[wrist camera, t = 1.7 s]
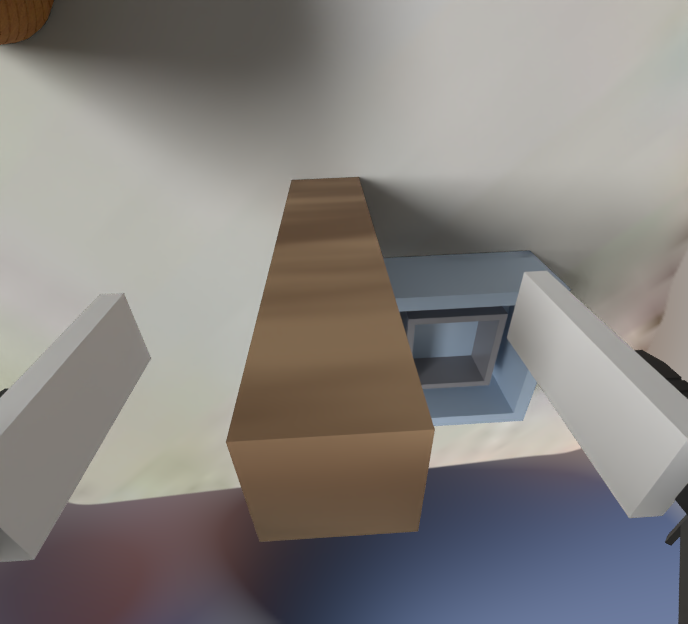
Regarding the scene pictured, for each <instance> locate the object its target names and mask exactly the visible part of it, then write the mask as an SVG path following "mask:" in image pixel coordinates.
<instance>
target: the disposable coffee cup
mask: <svg viewBox="0 0 688 624" xmlns="http://www.w3.org/2000/svg"><path fill="white" fill-rule="evenodd" d="M53 2H54V0H0V45H1V44H9V43H16V42H19V41H22V40H25V39H28V38H30V37H31V36H32V35H33V34H35V33H36V32H37V31H38V30H40V29H41V28H42V26H43V25H44V24H45V22H46V21H47V20H48V17H49V14H50V11H51V8H52V5H53Z"/></svg>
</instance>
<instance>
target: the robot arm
mask: <svg viewBox="0 0 688 624" xmlns="http://www.w3.org/2000/svg"><path fill="white" fill-rule="evenodd" d="M507 339H508V340H509V342H510V343H511V345H512V346H513V348H514V349H515V351H516V352H517V354H518V355H519V357H520V358H521V360H522V361H523V363H524V364H525V365H526V367H527V368H528V370H529V371H530V373H531V374H532V376H533V377H534V379H535V380H536V382H537V383H538V385H539V386H540V388H541V389H542V390H543V392H544V393H545V395H546V396H547V398H548V399H549V401H550V402H551V404H552V405H553V407H554V408H555V410H556V411H557V413H558V414H559V415H560V417H561V418H562V420H563V421H564V423H565V424H566V426H567V427H568V429H569V430H570V432H571V433H572V435H573V436H574V438H575V439H576V441H577V442H578V443H579V445H580V446H581V448H582V449H583V451H584V452H585V454H586V455H587V456H588V458H589V460H590V461H591V462H592V464H593V466H594V467H595V468H596V470H597V471H598V473H599V474H600V476H601V477H602V479H603V480H604V482H605V483H606V485H607V486H608V488H609V489H610V490H611V492H612V494H613V495H614V496H615V498H616V499H617V501H618V502H619V504H620V505H621V507H622V508H623V510H624V511H625V512H626V514H627V516H628V517H629V518H637V517H652V516H663V515H664V513H665V512H666V511H667V510H668V509H669V507H670V506H671V505H672V503H674V501H675V500H676V501H677V502H678V504H679V505H680V506H681V508H682V509H683V510H684V511H685V512H686V516H685V517H684V518H683V519H682V520H681V521H680V522H679V524H677V526H676V527H675V528H674V529H673V530H672V531H671V532H670V533H669V534H668V536H667V539H666V541H665V543H667V544H669V545H672V544H673V543H674V542H675V541H676V540H677V539H678V538H679V537H680V578H679V622H678V624H688V383H687V382H686V381H685V380H681V377H680V376H679V375H678V374H677V373H676V372H675V371H673V370H672V369H671V368H670V367H669V366H668V365H667V364H666V363H664V362H663V361H661V360H659V359H657V358H655V357H654V356H652V355H650V354H648V353H646V352H645V351H643V350H633V349H632V348H631V347H630V346H629V345H628V344H627V343H626V342H624V341H623V340H622V339H621V338H620V337H619V336H618V335H617V334H616V333H615V332H614V331H612V330H611V329H610V328H609V327H608V326H607V325H606V324H605V323H604V322H603V321H601V320H600V319H599V318H598V317H597V316H596V315H595V314H594V313H593V312H592V311H590V310H589V309H588V308H587V307H586V306H585V305H584V304H583V303H582V302H581V301H580V300H578V299H577V298H576V297H575V296H574V295H573V294H572V293H571V292H570V291H569V290H567V289H566V288H565V287H564V286H563V285H562V284H561V283H560V282H559V281H558V280H557V279H555V278H554V277H553V276H552V275H551V274H550V273H549V272H548V271H532V272H524V274H523V278H522V282H521V286H520V289H519V293H518V297H517V301H516V305H515V308H514V312H513V316H512V320H511V324H510V327H509V331H508V335H507ZM150 359H151V357H150V355H149V352H148V350H147V347H146V345H145V343H144V340H143V338H142V335H141V333H140V331H139V328H138V326H137V324H136V321H135V319H134V316H133V314H132V312H131V309H130V307H129V304H128V302H127V300H126V297H125V295H124V293H119V294H100V295H99V296H98V297H97V298H96V299H95V300H94V301H93V302H92V303H91V304H90V305H89V306H88V307H87V308H86V309H85V310H84V311H83V312H82V313H81V315H80V316H79V317H78V318H77V319H76V320H75V321H74V322H73V323H72V324H71V325H70V326H69V327H68V328H67V329H66V330H65V331H64V332H63V333H62V334H61V335H60V336H59V337H58V338H57V339H56V340H55V341H54V342H53V344H52V345H51V346H50V347H49V348H48V349H47V350H46V351H45V352H44V353H43V354H42V355H41V356H40V357H39V358H38V359H37V360H36V361H35V362H34V363H33V364H32V365H31V366H30V367H29V368H28V369H27V370H26V371H25V373H24V374H23V375H22V376H21V377H20V378H19V379H18V380H17V381H16V382H15V383H14V384H13V385H12V386H11V387H10V388H9V389H4V390H2V391H1V392H0V562H7V561H20V560H21V561H22V560H34V559H35V557H36V556H37V554H38V552H39V550H40V549H41V547H42V545H43V543H44V542H45V540H46V538H47V536H48V535H49V533H50V531H51V530H52V528H53V526H54V525H55V523H56V521H57V519H58V517H59V516H60V514H61V512H62V511H63V509H64V507H65V506H66V504H67V502H68V500H69V499H70V497H71V495H72V494H73V492H74V490H75V488H76V487H77V485H78V483H79V482H80V480H81V478H82V476H83V475H84V473H85V471H86V469H87V468H88V466H89V464H90V463H91V461H92V459H93V457H94V456H95V454H96V452H97V451H98V449H99V447H100V445H101V444H102V442H103V440H104V438H105V437H106V435H107V433H108V432H109V430H110V428H111V426H112V425H113V423H114V421H115V420H116V418H117V416H118V414H119V413H120V411H121V409H122V407H123V406H124V404H125V402H126V401H127V399H128V397H129V395H130V394H131V392H132V390H133V389H134V387H135V385H136V383H137V382H138V380H139V378H140V376H141V375H142V373H143V371H144V370H145V368H146V366H147V364H148V363H149V361H150Z"/></svg>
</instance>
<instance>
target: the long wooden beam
mask: <svg viewBox="0 0 688 624" xmlns="http://www.w3.org/2000/svg"><path fill="white" fill-rule="evenodd" d="M434 431H435V429H434V426H433V422H432V419H431V416H430V412H429V409H428V406H427V402H426V399H425V396H424V392H423V389H422V386H421V382H420V379H419V376H418V372H417V369H416V366H415V362H414V359H413V356H412V352H411V349H410V346H409V343H408V339H407V336H406V333H405V329H404V326H403V323H402V319H401V316H400V313H399V309H398V306H397V303H396V299H395V296H394V293H393V289H392V286H391V283H390V279H389V276H388V273H387V269H386V266H385V263H384V260H383V256H382V253H381V250H380V246H379V243H378V240H377V236H376V233H375V230H374V226H373V223H372V220H371V216H370V213H369V210H368V206H367V203H366V200H365V196H364V193H363V190H362V186H361V183H360V180H359V177H348V178H326V179H304V180H291V184H290V188H289V192H288V196H287V200H286V204H285V208H284V212H283V216H282V220H281V224H280V228H279V232H278V236H277V240H276V244H275V248H274V252H273V256H272V260H271V264H270V268H269V272H268V276H267V280H266V284H265V288H264V292H263V296H262V300H261V304H260V308H259V312H258V316H257V320H256V324H255V328H254V332H253V336H252V340H251V344H250V348H249V352H248V356H247V360H246V364H245V368H244V372H243V376H242V380H241V384H240V388H239V392H238V396H237V400H236V404H235V408H234V412H233V416H232V420H231V424H230V428H229V432H228V436H227V440H226V444H227V446H228V449H229V452H230V455H231V458H232V461H233V464H234V467H235V470H236V473H237V476H238V479H239V482H240V485H241V488H242V491H243V494H244V497H245V499H246V503H247V505H248V509H249V512H250V515H251V517H252V520H253V523H254V526H255V529H256V532H257V535H258V538H259V541H260V542H263V541H278V540H291V539H292V540H293V539H308V538H324V537H339V536H354V535H369V534H383V533H398V532H413V531H418V528H419V522H420V516H421V509H422V503H423V498H424V492H425V485H426V479H427V473H428V467H429V461H430V455H431V449H432V443H433V437H434Z"/></svg>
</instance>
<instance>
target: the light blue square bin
mask: <svg viewBox="0 0 688 624" xmlns="http://www.w3.org/2000/svg"><path fill="white" fill-rule="evenodd" d="M383 260H384V263H385V266H386V269H387V273H388V276H389V279H390V283H391V286H392V289H393V293H394V296H395V299H396V303H397V306H398V309H399V313H400V316H401V319H402V323H403V326H404V329H405V333H406V336H407V339H408V343H409V346H410V349H411V352H412V356H413V359H414V362H415V366H416V369H417V372H418V376H419V379H420V382H421V386H422V389H423V392H424V396H425V399H426V402H427V406H428V409H429V412H430V416H431V419H432V422H433V426H442V425H459V424H475V423H492V422H508V421H523V419H524V416H525V414H526V411H527V408H528V405H529V403H530V400H531V397H532V395H533V392H534V389H535V386H536V384H537V382H536V380H535V379H534V377H533V376H532V374H531V373H530V371H529V370H528V368H527V367H526V365H525V364H524V363H523V361H522V360H521V358H520V357H519V355H518V354H517V352H516V351H515V349H514V348H513V346H512V345H511V343H510V342H509V340H508V339H507V335H508V331H509V327H510V324H511V320H512V316H513V312H514V308H515V305H516V301H517V297H518V293H519V289H520V286H521V282H522V278H523V274H524V272H532V271H548V272H549V273H550V274H551V275H552V276H553V277H554V278H555V279H557V280H558V281H559V282H560V283H561V284H562V285H563V286H564V287H565V288H566V289H567V290H569V291H570V290H571V289H570V288H569V287H568V286H567V285H566V284H565V283H564V282H563V281H562V280H561V279H559V278H558V277H557V276H556V275H555V274H554V273H553V272H552V271H551V270H550V269H549V268H548V267H547V266H546V265H545V264H543V263H542V262H541V261H540V260H539V259H538V258H537V257H536V256H535V255H534V254H533V253H532V252H531V251H513V252H493V253H474V254H454V255H434V256H414V257H395V258H383Z"/></svg>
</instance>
